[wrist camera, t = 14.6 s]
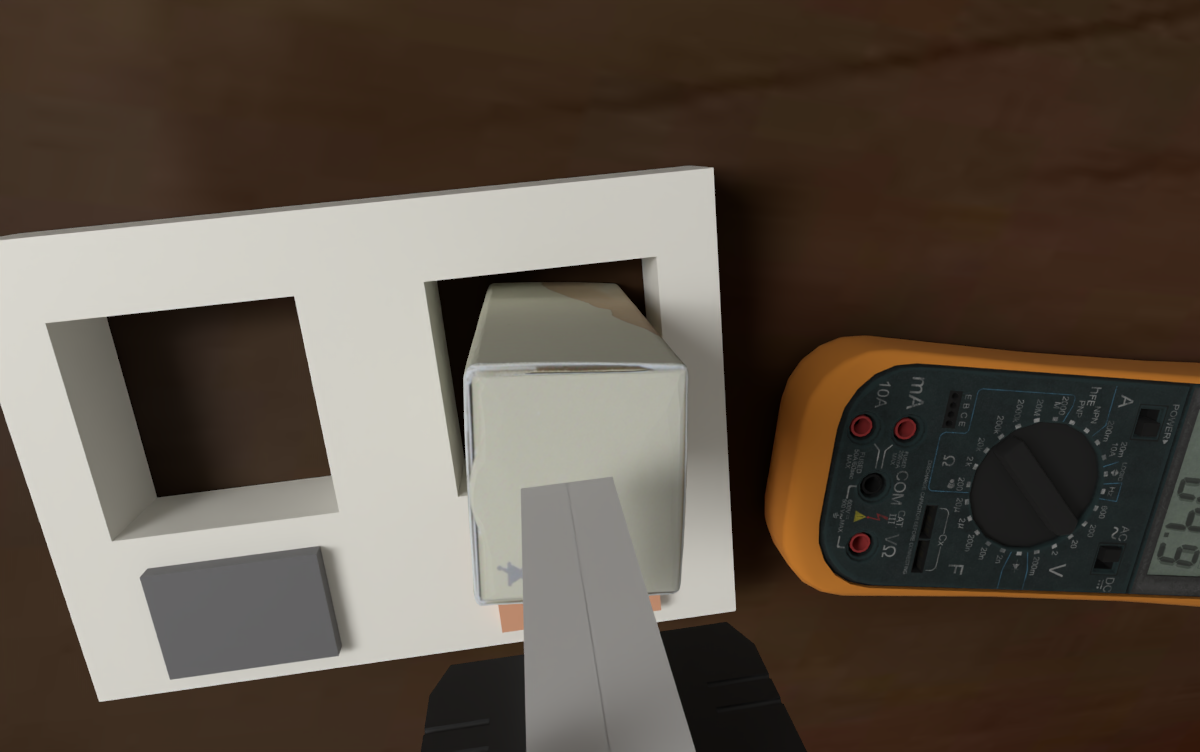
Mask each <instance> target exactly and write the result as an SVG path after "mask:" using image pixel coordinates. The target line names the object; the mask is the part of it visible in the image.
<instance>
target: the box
mask: <svg viewBox="0 0 1200 752" xmlns="http://www.w3.org/2000/svg"><path fill="white" fill-rule="evenodd" d="M688 381H689V373H688V368H687V366H686V365H685V364H684V363H683V362H682V361H681V360H680V359H679V357H678V356H677V355H676V354H675V353H674V352H673V350H672V349H671V348H670V347H669V346H668V344H667V343H666V342H665V341H664V340H663V338H662V337H661V336H660V335H659V334H658V332H657V331H656V330H655V329H654V328H653V326H652V325H651V324H650V323H649V322H648V321H647V319H646V318H645V317H644V316H643V315H642V313H641V312H640V311H639V310H638V308H637V307H636V306H635V305H634V304H633V302H632V301H631V300H630V299H629V298H628V297H627V296H626V294H625V293H624V292H623V291H622V289H621V288H620V287H619V286H618V285H617V284H614V283H586V282H516V283H493V284H491V285H490V286H489V287H488V290H487V293H486V296H485V300H484V303H483V307H482V310H481V313H480V317H479V321H478V325H477V328H476V332H475V335H474V339H473V342H472V346H471V349H470V353H469V356H468V359H467V364H466V368H465V372H464V377H463V388H464V431H465V453H466V474H467V496H468V515H469V529H470V543H471V557H472V572H473V593H474V598H475V601H476V602H477V604H479V605H481V606H488V605H507V604H523V573H522V527H521V488H529V487H537V486H544V485H552V484H560V483H567V482H575V481H582V480H590V479H598V478H605V477H613V481H614V484H615V487H616V490H617V494H618V497H619V500H620V504H621V507H622V510H623V513H624V517H625V520H626V523H627V527H628V530H629V533H630V537H631V540H632V543H633V546H634V550H635V553H636V556H637V560H638V563H639V566H640V569H641V573H642V576H643V579H644V583H645V586H646V589H647V592H648V596H652V595H669V594H674V593H676V592H678V591H679V589H680V585H681V573H682V559H683V546H684V530H685V510H686V488H687V442H688Z"/></svg>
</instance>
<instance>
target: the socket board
mask: <svg viewBox="0 0 1200 752" xmlns="http://www.w3.org/2000/svg"><path fill="white" fill-rule="evenodd" d="M638 258H642V270H643V283H644V295H645V308H646V319H647V321H648V322H649V323H650V324H651V325H652V326H653V328H654V329H655V330H656V331H657V332H658V334H659V335H660V336H661V337H662V338H663V340H664V341H665V342H666V343H667V344H668V346H669V347H670V348H671V349H672V350H673V352H674V353H675V354H676V355H677V356H678V357H679V359H680V360H681V361H682V362H683V363H684V364H685V365H686V366H687V368H688V373H689V381H688V442H687V488H686V510H685V530H684V546H683V559H682V573H681V585H680V589H679V591H678V592H676V593H674V594H669V595H652V596H649V599H650V602H651V606H652V609H653V612H654V616H655V619H656V622H661V621H668V620H675V619H682V618H689V617H696V616H703V615H710V614H717V613H724V612H731V611H736V603H735V583H734V563H733V544H732V524H731V504H730V484H729V465H728V445H727V425H726V405H725V385H724V366H723V346H722V326H721V306H720V287H719V267H718V247H717V227H716V207H715V188H714V168H710V167H700V166H682V167H672V168H662V169H652V170H642V171H632V172H623V173H613V174H603V175H593V176H583V177H573V178H563V179H553V180H543V181H534V182H524V183H514V184H504V185H494V186H484V187H474V188H464V189H454V190H445V191H435V192H425V193H415V194H405V195H395V196H385V197H375V198H366V199H356V200H346V201H336V202H326V203H316V204H306V205H296V206H286V207H277V208H267V209H257V210H247V211H237V212H227V213H217V214H207V215H197V216H188V217H178V218H168V219H158V220H148V221H138V222H128V223H118V224H108V225H99V226H89V227H79V228H69V229H59V230H49V231H39V232H29V233H20V234H13V235H8V236H2V237H0V404H1V407H2V410H3V413H4V416H5V419H6V422H7V425H8V428H9V431H10V434H11V437H12V440H13V443H14V446H15V449H16V452H17V455H18V458H19V461H20V464H21V467H22V470H23V473H24V476H25V479H26V482H27V485H28V488H29V491H30V494H31V497H32V500H33V503H34V506H35V509H36V512H37V515H38V518H39V521H40V524H41V527H42V530H43V533H44V536H45V539H46V542H47V545H48V549H49V552H50V555H51V558H52V561H53V564H54V567H55V570H56V573H57V576H58V579H59V582H60V585H61V588H62V591H63V594H64V597H65V600H66V603H67V606H68V609H69V612H70V615H71V618H72V621H73V624H74V627H75V630H76V633H77V636H78V639H79V642H80V645H81V648H82V651H83V654H84V657H85V660H86V663H87V666H88V669H89V672H90V675H91V678H92V681H93V684H94V687H95V690H96V693H97V696H98V699H99V702H101V701H108V700H115V699H122V698H129V697H136V696H143V695H150V694H157V693H164V692H171V691H178V690H185V689H192V688H199V687H206V686H213V685H220V684H227V683H234V682H241V681H248V680H255V679H262V678H269V677H276V676H283V675H290V674H297V673H304V672H311V671H318V670H325V669H332V668H339V667H346V666H353V665H360V664H367V663H374V662H381V661H388V660H395V659H402V658H409V657H416V656H423V655H430V654H437V653H444V652H451V651H458V650H465V649H472V648H479V647H486V646H493V645H500V644H507V643H514V642H521V641H524V620H523V604H507V605H488V606H481V605H479V604H477V602H476V601H475V598H474V593H473V572H472V557H471V543H470V529H469V515H468V496H467V474H466V459H464V452H463V446H462V440H461V433H460V427H459V420H458V414H457V407H456V401H455V394H454V388H453V381H452V375H451V369H450V362H449V356H448V349H447V343H446V336H445V330H444V323H443V317H442V310H441V304H440V298H439V291H438V285H437V280H446V279H455V278H464V277H473V276H482V275H492V274H501V273H510V272H519V271H528V270H537V269H547V268H556V267H565V266H574V265H583V264H592V263H602V262H611V261H620V260H629V259H638ZM290 296H294V298H295V303H296V307H297V312H298V317H299V322H300V327H301V331H302V336H303V341H304V346H305V351H306V355H307V360H308V365H309V370H310V374H311V379H312V384H313V389H314V394H315V398H316V403H317V408H318V413H319V418H320V422H321V427H322V432H323V437H324V441H325V446H326V451H327V456H328V461H329V465H330V470H331V475H332V476H325V477H317V478H309V479H301V480H293V481H285V482H277V483H269V484H261V485H253V486H245V487H237V488H229V489H221V490H213V491H205V492H197V493H189V494H181V495H174V496H166V497H158V498H157V495H156V491H155V488H154V484H153V481H152V477H151V474H150V470H149V466H148V463H147V459H146V456H145V452H144V449H143V445H142V442H141V438H140V434H139V431H138V427H137V424H136V420H135V417H134V413H133V410H132V406H131V402H130V399H129V395H128V392H127V388H126V385H125V381H124V377H123V374H122V370H121V367H120V363H119V360H118V356H117V353H116V349H115V345H114V342H113V338H112V335H111V331H110V328H109V324H108V321H107V316H116V315H125V314H135V313H144V312H153V311H162V310H171V309H180V308H189V307H199V306H208V305H217V304H226V303H235V302H244V301H254V300H263V299H272V298H281V297H290Z"/></svg>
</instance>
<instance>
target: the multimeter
mask: <svg viewBox="0 0 1200 752" xmlns="http://www.w3.org/2000/svg"><path fill="white" fill-rule="evenodd" d="M765 519H766V524H767V526H768V529H769V532H770V535H771V537H772V540H773V542H774V544H775V546H776V547H777V549H778V550H779V552H780V553H781V555H782V556H783V558H784V559H785V561H786V562H787V564H788V565H789V567H790V568H791V569H792V570H793V571H794V572H795V574H796V575H797V576H798V577H799V578H800V579H801V581H802V582H804V583H806V584H808V585H809V586H811V587H813V588H815V589H817V590H818V591H820V592H825V593H830V594H836V595H841V596H969V597H1015V598H1044V599H1074V600H1103V601H1127V602H1141V603H1155V604H1169V605H1183V606H1197V607H1200V363H1194V362H1168V361H1142V360H1128V359H1114V358H1100V357H1086V356H1072V355H1058V354H1044V353H1030V352H1017V351H1008V350H999V349H989V348H980V347H970V346H961V345H952V344H942V343H933V342H923V341H914V340H905V339H895V338H886V337H876V336H866V335H860V336H848V337H839V338H837V339H835V340H832V341H830V342H827V343H825V344H822V345H820V346H818V347H817V348H816V349H814V350H813V351H812V352H811V353H809V354H808V355H807V356H806V357H804V358H803V359H802V360H801V361H800V362H799V364H798V365H797V367H796V368H795V369H794V371H793V372H792V374H791V375H790V377H789V378H788V380H787V383H786V386H785V389H784V392H783V395H782V398H781V402H780V408H779V414H778V420H777V426H776V432H775V438H774V444H773V450H772V456H771V462H770V468H769V474H768V480H767V486H766V492H765Z"/></svg>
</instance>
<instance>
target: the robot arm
mask: <svg viewBox="0 0 1200 752" xmlns="http://www.w3.org/2000/svg"><path fill="white" fill-rule="evenodd" d="M521 527H522V573H523V620H524V655H518V656H511V657H504V658H497V659H490V660H484V661H477V662H470V663H463V664H456V665H451V666H450V667H449V668H448V670H447V671H446V673H445V674H444V676H443V677H442V678H441V680H440V681H439V683H438V684H437V686H436V687H435V689H434V690H433V691H432V693H431V694H430V696H429V703H428V709H427V716H426V722H425V735H423V742H422V748H421V752H807V751H806V749H805V747H804V745H803V743H802V741H801V739H800V737H799V735H798V733H797V731H796V729H795V726H794V724H793V722H792V720H791V718H790V716H789V714H788V712H787V710H786V708H785V706H784V704H782V703H781V699H780V696H779V694H778V692H777V690H776V688H775V686H774V684H773V681H772V679H769V674H768V671H767V669H766V667H765V665H764V663H763V661H762V659H761V657H760V655H759V653H758V651H757V649H756V647H755V645H754V643H752V642H751V641H750V640H748V639H747V638H746V637H745V636H743V635H742V634H741V633H740V632H738V631H737V630H736V629H735V628H733V627H732V626H731V625H730V624H728V623H727V622H723V623H717V624H710V625H703V626H696V627H689V628H682V629H676V630H669V631H662V632H659V629H658V625H657V622H656V619H655V616H654V612H653V609H652V606H651V602H650V599H649V596H648V592H647V589H646V586H645V583H644V579H643V576H642V573H641V569H640V566H639V563H638V560H637V556H636V553H635V550H634V546H633V543H632V540H631V537H630V533H629V530H628V527H627V523H626V520H625V517H624V513H623V510H622V507H621V504H620V500H619V497H618V494H617V490H616V487H615V484H614V481H613V477H605V478H598V479H590V480H582V481H575V482H567V483H560V484H552V485H544V486H537V487H529V488H521Z"/></svg>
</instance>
